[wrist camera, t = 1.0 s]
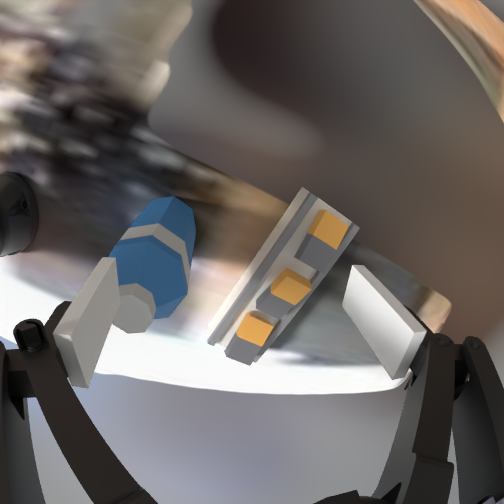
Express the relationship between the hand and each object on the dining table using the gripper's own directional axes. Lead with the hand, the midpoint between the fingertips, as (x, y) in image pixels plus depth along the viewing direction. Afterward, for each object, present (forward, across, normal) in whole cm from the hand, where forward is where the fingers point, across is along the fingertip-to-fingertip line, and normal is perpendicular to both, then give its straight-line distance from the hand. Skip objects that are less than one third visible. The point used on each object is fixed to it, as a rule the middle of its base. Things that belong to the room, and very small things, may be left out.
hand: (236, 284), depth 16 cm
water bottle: (+32, -8, -7) cm, 34 cm away
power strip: (+31, +11, -15) cm, 37 cm away
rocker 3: (+25, +15, -6) cm, 30 cm away
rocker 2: (+25, +11, -15) cm, 31 cm away
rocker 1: (+25, +6, -24) cm, 36 cm away
